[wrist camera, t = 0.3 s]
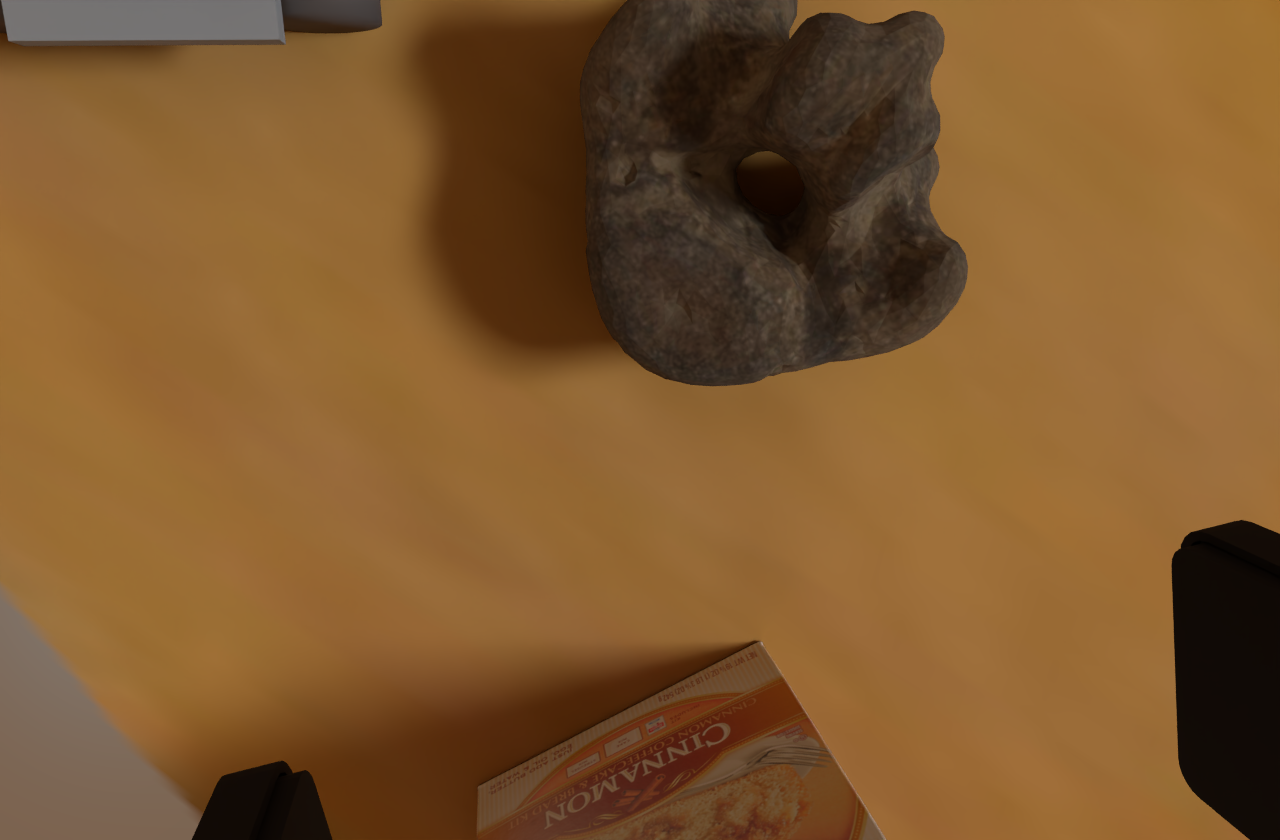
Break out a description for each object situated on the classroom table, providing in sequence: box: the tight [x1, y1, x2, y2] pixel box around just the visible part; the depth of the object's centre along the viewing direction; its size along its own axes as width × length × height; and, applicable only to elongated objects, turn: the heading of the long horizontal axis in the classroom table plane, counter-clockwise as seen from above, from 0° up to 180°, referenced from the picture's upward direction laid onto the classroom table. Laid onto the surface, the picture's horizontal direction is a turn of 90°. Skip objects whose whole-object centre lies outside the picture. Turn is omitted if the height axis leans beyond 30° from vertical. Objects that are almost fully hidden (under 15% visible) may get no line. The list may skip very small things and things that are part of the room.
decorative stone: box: [580, 0, 968, 386], centre depth 35 cm, size 16×11×15 cm
